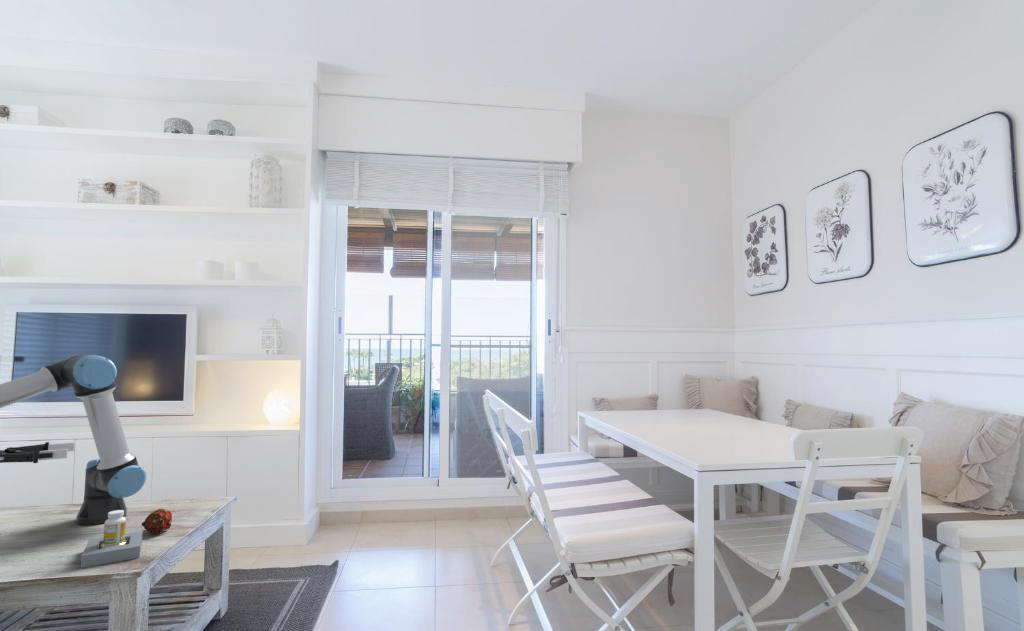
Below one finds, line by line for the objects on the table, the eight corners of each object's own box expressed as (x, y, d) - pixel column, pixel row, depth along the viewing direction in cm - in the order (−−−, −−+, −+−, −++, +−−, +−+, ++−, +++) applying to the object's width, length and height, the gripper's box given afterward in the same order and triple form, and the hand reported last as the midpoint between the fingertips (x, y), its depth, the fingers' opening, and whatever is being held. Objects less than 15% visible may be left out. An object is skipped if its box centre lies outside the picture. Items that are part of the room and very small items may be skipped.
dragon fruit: (157, 541, 174) (151, 537, 182) (181, 522, 179) (174, 519, 188) (141, 524, 171) (135, 521, 180) (165, 504, 177) (159, 502, 185)
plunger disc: (101, 549, 160) (102, 541, 160) (126, 545, 163) (127, 537, 164) (99, 556, 155) (99, 548, 155) (125, 552, 158) (125, 544, 158)
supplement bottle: (120, 538, 163) (122, 508, 164) (127, 542, 160) (129, 510, 161) (99, 544, 158) (102, 512, 159) (107, 547, 155) (109, 515, 156)
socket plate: (88, 550, 162) (89, 539, 162) (141, 541, 169) (142, 530, 170) (80, 567, 148) (81, 555, 149) (139, 557, 156) (140, 546, 156)
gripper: (-10, 462, 162) (76, 455, 174) (-37, 478, 141) (63, 469, 153) (-8, 438, 162) (77, 433, 174) (-35, 451, 142) (64, 444, 154)
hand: (71, 450), depth 164 cm, fingers open, 13 cm apart
